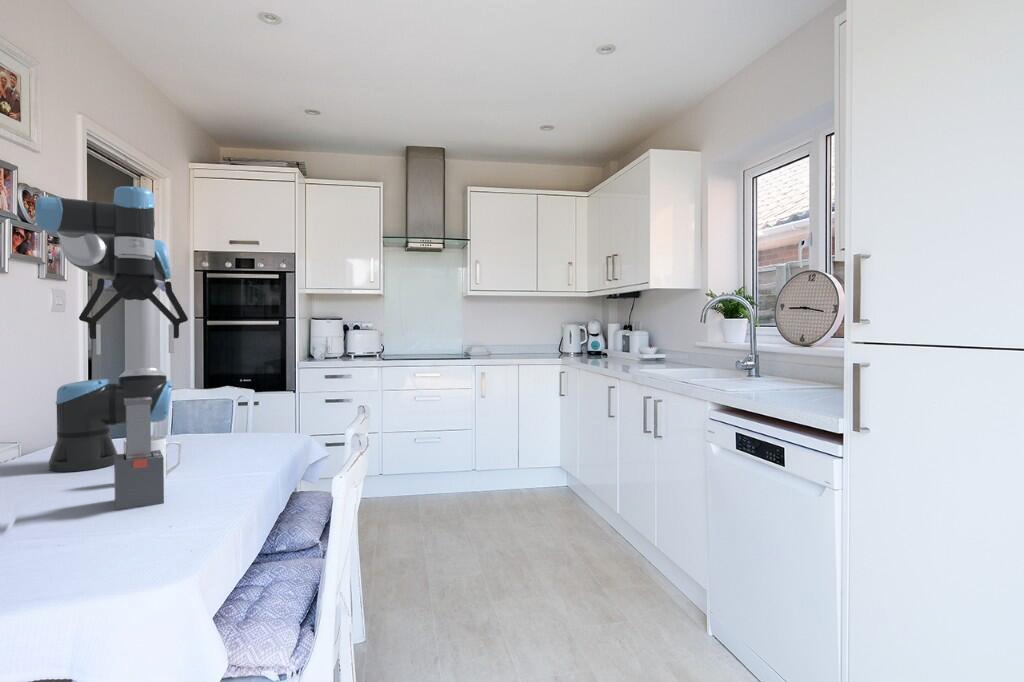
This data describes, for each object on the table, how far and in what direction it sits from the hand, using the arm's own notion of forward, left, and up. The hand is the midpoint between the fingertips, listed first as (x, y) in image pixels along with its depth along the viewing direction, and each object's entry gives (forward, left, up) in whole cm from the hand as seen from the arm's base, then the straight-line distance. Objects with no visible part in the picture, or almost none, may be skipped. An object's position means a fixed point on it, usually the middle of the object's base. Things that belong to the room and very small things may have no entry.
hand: (136, 353), depth 129 cm
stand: (+8, 0, -32) cm, 33 cm away
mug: (-12, +4, -33) cm, 35 cm away
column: (+8, 0, -31) cm, 32 cm away
